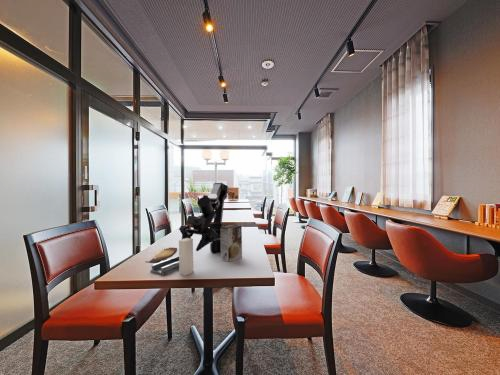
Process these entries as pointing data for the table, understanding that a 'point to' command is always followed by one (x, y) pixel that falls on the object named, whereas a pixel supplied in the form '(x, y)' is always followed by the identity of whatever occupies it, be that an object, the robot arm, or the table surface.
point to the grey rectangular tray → (166, 266)
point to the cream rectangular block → (185, 256)
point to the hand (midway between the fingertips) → (188, 249)
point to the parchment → (163, 254)
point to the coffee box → (231, 242)
